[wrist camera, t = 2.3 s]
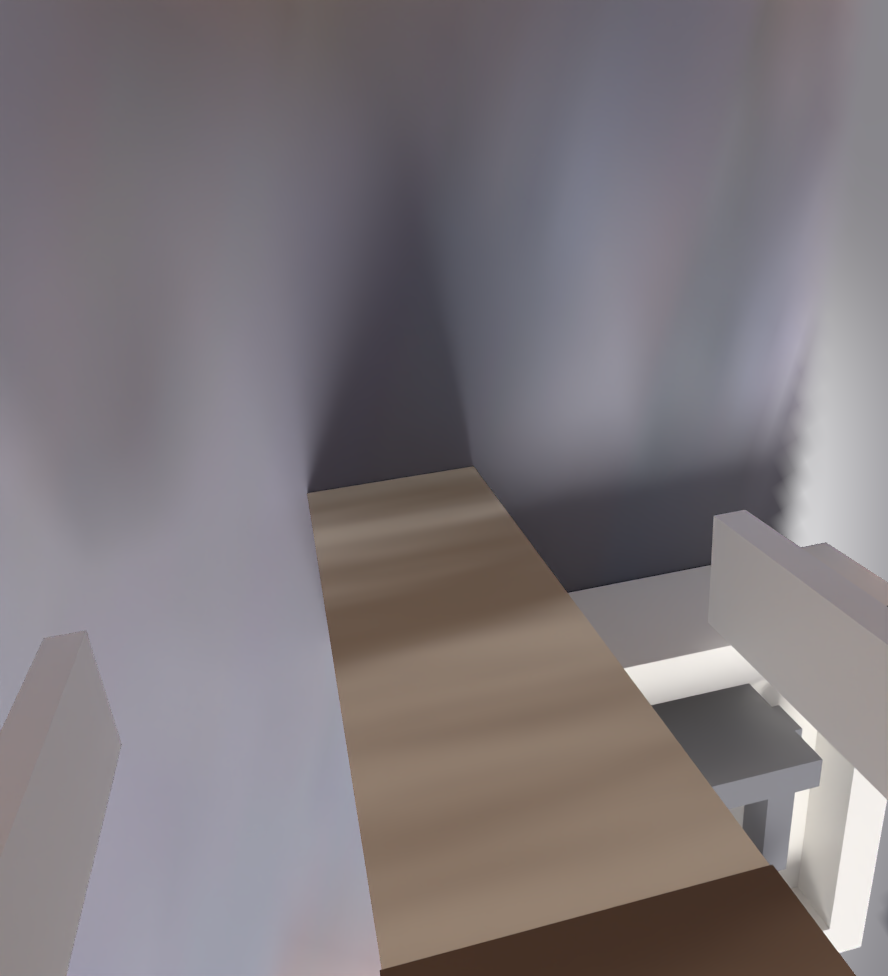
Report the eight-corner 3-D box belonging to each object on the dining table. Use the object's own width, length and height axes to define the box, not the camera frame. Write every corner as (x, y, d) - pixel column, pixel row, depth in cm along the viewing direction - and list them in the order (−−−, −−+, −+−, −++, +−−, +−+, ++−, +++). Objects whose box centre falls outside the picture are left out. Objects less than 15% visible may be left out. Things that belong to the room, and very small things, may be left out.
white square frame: (409, 623, 20) (453, 755, 15) (825, 542, 22) (973, 637, 17) (448, 946, 25) (491, 1119, 20) (788, 854, 27) (897, 994, 22)
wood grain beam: (306, 492, 18) (420, 1237, 5) (474, 465, 19) (926, 1069, 6) (330, 639, 20) (464, 1482, 7) (484, 609, 20) (862, 1327, 8)
